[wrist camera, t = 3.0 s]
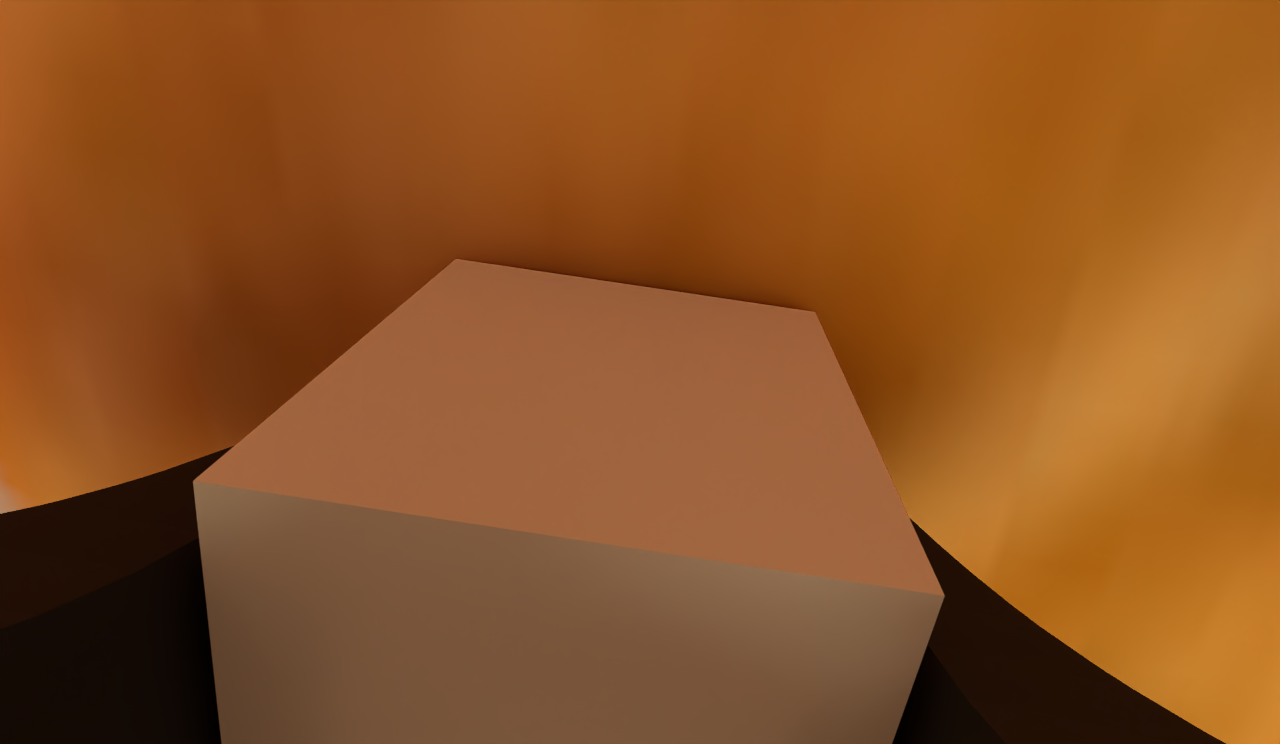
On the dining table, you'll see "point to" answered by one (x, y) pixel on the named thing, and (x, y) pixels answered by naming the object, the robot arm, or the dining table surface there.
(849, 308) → the dining table surface
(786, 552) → the cream block
